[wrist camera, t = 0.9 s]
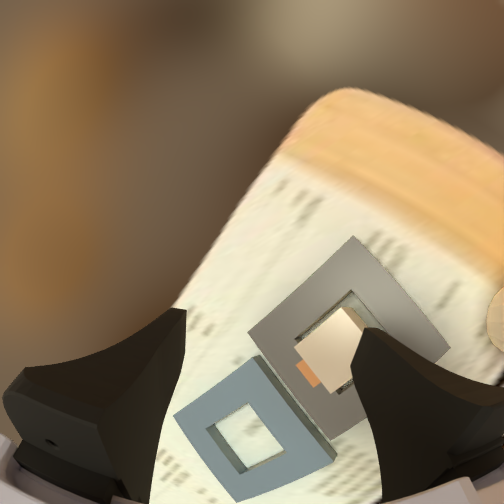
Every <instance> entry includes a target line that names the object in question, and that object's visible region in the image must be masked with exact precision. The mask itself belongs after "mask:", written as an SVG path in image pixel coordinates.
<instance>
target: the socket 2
mask: <svg viewBox="0 0 504 504" xmlns="http://www.w3.org/2000/svg"><path fill="white" fill-rule="evenodd" d="M352 291H353V292H354V293H355V294H356V296H357V297H358V298H359V299H360V300H361V301H362V303H363V304H364V305H365V306H366V307H367V308H368V310H369V311H370V312H371V313H372V314H373V315H374V317H375V318H376V319H377V320H378V321H379V323H380V324H381V325H382V326H383V327H384V329H385V330H386V331H387V332H388V334H389V335H390V336H392V337H393V338H395V339H396V340H398V341H399V342H401V343H402V344H404V345H405V346H407V347H408V348H410V349H411V350H413V351H414V352H416V353H417V354H419V355H421V356H422V357H424V358H426V359H427V360H429V361H431V362H432V363H435V362H436V361H437V360H439V359H440V358H441V357H442V356H443V355H444V354H445V353H446V352H447V351H448V350H449V349H450V346H449V345H448V344H447V342H446V341H445V340H444V338H443V337H442V336H441V335H440V333H439V332H438V331H437V330H436V328H435V327H434V326H433V325H432V323H431V322H430V321H429V320H428V318H427V317H426V316H425V315H424V313H423V312H422V311H421V310H420V309H419V307H418V306H417V305H416V304H415V303H414V302H413V300H412V299H411V298H410V297H409V296H408V294H407V293H406V292H405V291H404V290H403V289H402V288H401V286H400V285H399V284H398V283H397V282H396V281H395V280H394V278H393V277H392V276H391V275H390V274H389V273H388V272H387V271H386V270H385V268H384V267H383V266H382V265H381V264H380V263H379V262H378V261H377V260H376V259H375V258H374V257H373V255H372V254H371V253H370V252H369V251H368V250H367V249H366V248H365V247H364V246H363V245H362V244H361V243H360V242H359V241H358V240H357V239H356V238H355V237H354V236H352V237H351V238H350V239H349V240H348V241H347V242H346V243H345V244H344V245H343V246H342V247H341V248H340V249H339V250H338V251H337V252H335V253H334V254H333V255H332V256H331V257H330V258H329V259H328V260H327V261H326V262H325V263H324V264H323V265H322V266H321V267H320V268H319V269H318V270H317V271H315V272H314V273H313V274H312V275H311V276H310V277H309V278H308V279H307V280H306V281H305V282H304V283H303V284H301V285H300V286H299V287H298V288H297V289H296V290H295V291H294V292H293V293H292V294H290V295H289V296H288V297H287V298H286V299H285V300H284V301H283V302H282V303H280V304H279V305H278V306H277V307H276V308H275V309H274V310H273V311H271V312H270V313H269V314H268V315H267V316H266V317H265V318H263V319H262V320H261V321H260V322H259V323H258V324H257V325H255V326H254V327H253V328H252V329H251V330H250V331H248V332H247V333H248V334H249V335H250V337H251V338H252V339H253V341H254V342H255V344H256V345H257V346H258V348H259V349H260V350H261V352H262V353H263V355H264V356H265V357H266V359H267V360H268V361H269V363H270V364H271V365H272V367H273V368H274V369H275V371H276V372H277V373H278V375H279V376H280V377H281V379H282V380H283V381H284V383H285V384H286V385H287V387H288V388H289V389H290V390H291V392H292V393H293V394H294V396H295V397H296V398H297V400H298V401H299V402H300V403H301V405H302V406H303V407H304V408H305V410H306V411H307V412H308V414H309V415H310V416H311V417H312V419H313V420H314V421H315V422H316V424H317V425H318V426H319V427H320V428H321V430H322V431H323V432H324V433H325V435H326V436H327V437H328V438H329V439H330V440H332V439H334V438H335V437H337V436H339V435H340V434H342V433H343V432H345V431H347V430H348V429H350V428H351V427H353V426H354V425H356V424H357V423H359V422H360V421H362V420H363V419H365V418H366V417H367V415H366V413H365V410H364V408H363V406H362V403H361V401H360V398H359V396H358V393H357V390H356V388H355V385H354V382H352V383H351V384H350V385H348V386H347V387H346V388H344V389H343V390H341V389H340V387H339V388H338V389H337V390H335V391H334V392H333V393H331V394H330V393H329V391H328V390H327V389H326V388H325V386H324V385H323V384H322V382H321V383H319V384H318V385H317V386H315V387H314V388H313V387H312V385H311V384H310V383H309V382H308V380H307V379H306V378H305V376H304V375H303V374H302V373H301V371H300V370H299V369H298V367H297V366H296V364H298V363H299V362H300V361H302V360H303V358H302V357H301V356H300V354H299V353H298V352H297V351H296V349H295V348H294V347H295V346H296V345H297V344H298V343H300V342H301V341H302V340H301V338H300V336H302V335H303V334H304V333H305V332H306V331H308V330H309V329H310V328H311V327H312V326H313V325H315V324H316V323H317V322H318V321H319V320H320V319H322V318H323V317H324V316H325V315H326V314H327V313H328V312H330V311H331V310H332V309H333V308H334V307H335V306H336V305H337V304H339V303H340V302H341V301H342V300H343V299H344V298H345V297H346V296H347V295H349V294H350V293H351V292H352Z"/></svg>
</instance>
